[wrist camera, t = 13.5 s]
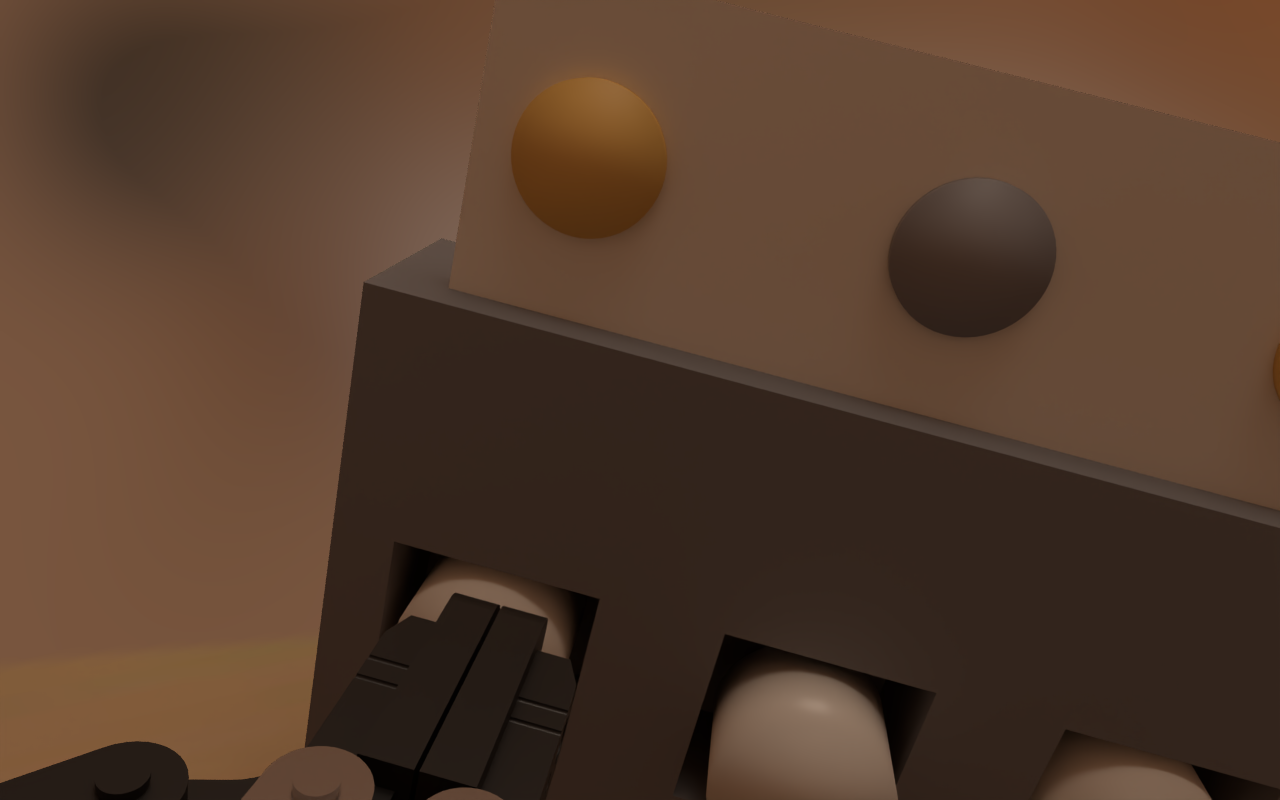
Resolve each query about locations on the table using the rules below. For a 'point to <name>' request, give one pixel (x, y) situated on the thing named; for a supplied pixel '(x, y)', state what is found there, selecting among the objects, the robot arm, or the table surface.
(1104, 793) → the button
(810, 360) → the card
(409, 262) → the button panel
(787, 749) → the middle button
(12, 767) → the table surface
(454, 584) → the button
